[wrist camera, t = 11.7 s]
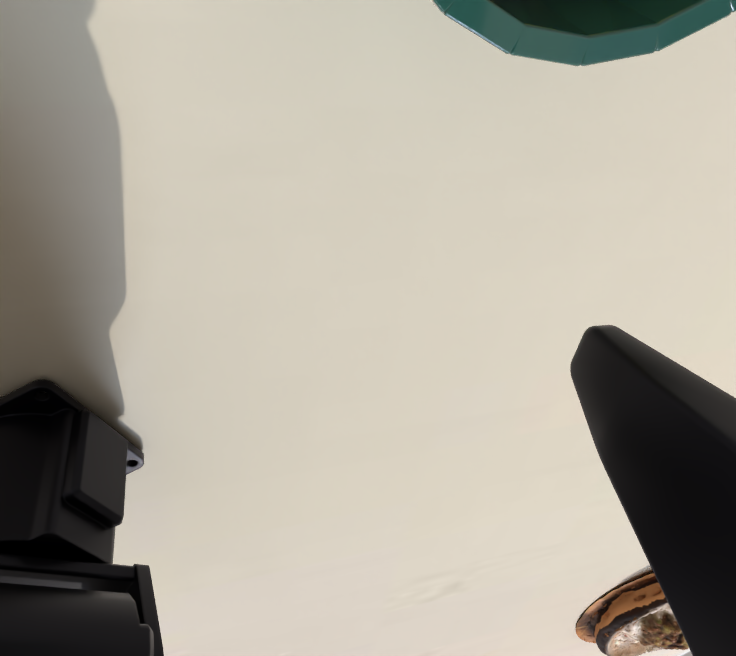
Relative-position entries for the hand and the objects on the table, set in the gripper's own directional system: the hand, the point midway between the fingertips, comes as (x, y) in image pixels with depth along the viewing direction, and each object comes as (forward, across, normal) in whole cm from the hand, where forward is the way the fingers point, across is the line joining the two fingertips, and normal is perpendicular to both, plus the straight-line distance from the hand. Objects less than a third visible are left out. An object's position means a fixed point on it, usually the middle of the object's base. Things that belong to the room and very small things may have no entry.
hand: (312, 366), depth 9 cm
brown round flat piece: (+13, -36, +46) cm, 60 cm away
